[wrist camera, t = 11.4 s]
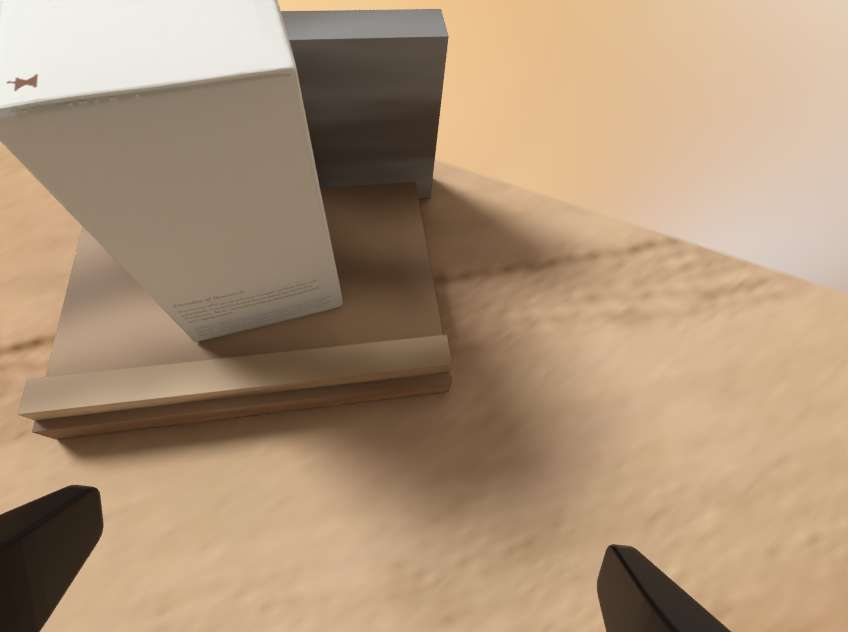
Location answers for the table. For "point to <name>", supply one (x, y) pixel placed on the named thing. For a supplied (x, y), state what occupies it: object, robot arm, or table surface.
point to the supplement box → (175, 150)
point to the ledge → (352, 248)
